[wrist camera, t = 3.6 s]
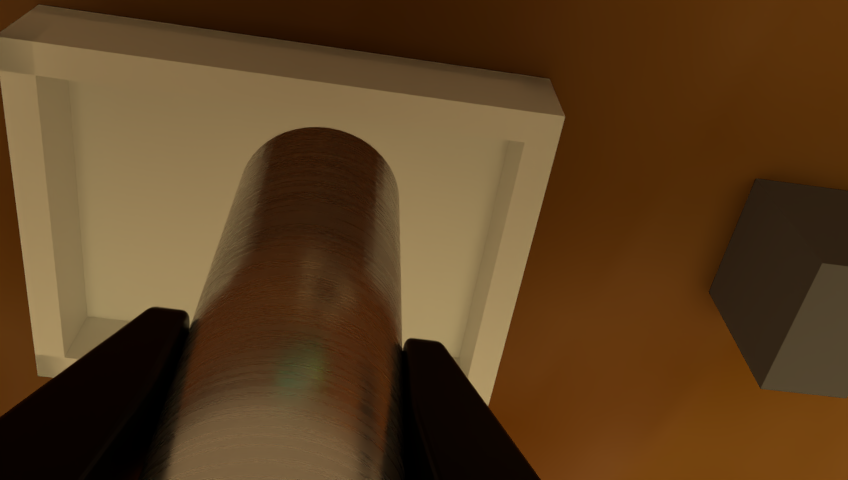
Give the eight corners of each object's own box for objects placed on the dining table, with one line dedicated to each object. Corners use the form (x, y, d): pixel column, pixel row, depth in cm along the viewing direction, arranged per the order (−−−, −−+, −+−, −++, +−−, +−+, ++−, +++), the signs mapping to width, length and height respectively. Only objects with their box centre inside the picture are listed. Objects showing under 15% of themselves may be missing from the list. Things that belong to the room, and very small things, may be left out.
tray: (549, 78, 21) (565, 116, 19) (477, 367, 26) (483, 422, 24) (39, 4, 20) (-6, 36, 18) (69, 322, 25) (38, 375, 23)
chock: (918, 198, 23) (1016, 287, 20) (858, 308, 26) (937, 408, 22) (754, 176, 23) (822, 263, 19) (707, 289, 25) (760, 388, 21)
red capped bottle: (444, 119, 12) (545, 813, 4) (406, 299, 13) (428, 1029, 6) (217, 83, 11) (-136, 781, 4) (207, 273, 13) (-52, 1024, 5)
